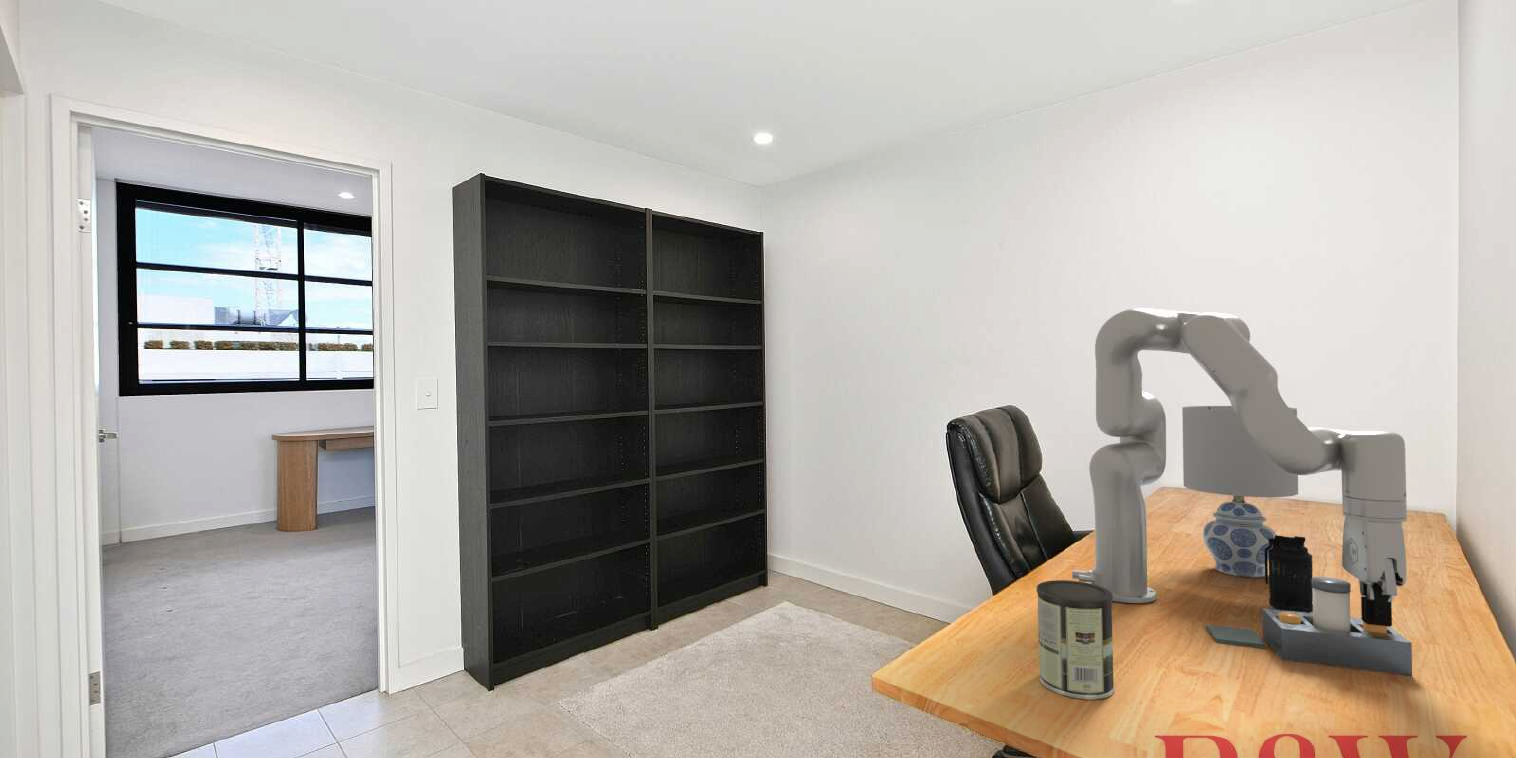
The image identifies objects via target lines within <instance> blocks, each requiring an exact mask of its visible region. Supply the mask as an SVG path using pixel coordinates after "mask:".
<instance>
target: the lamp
mask: <svg viewBox="0 0 1516 758" xmlns="http://www.w3.org/2000/svg"><path fill="white" fill-rule="evenodd" d="M1289 409H1290V410H1291V411H1292V412H1293V413H1294V414H1295V416H1296V417H1297V418H1298V408H1296V407H1289ZM1181 410H1182V462H1183V463H1182V464H1183V465H1182V468H1183V469H1182V470H1183V472H1182V473H1183V476H1182V477H1183V487H1185V488H1187V489H1189V490H1193V491H1198V492H1201V493H1206V494H1207V493H1208V494H1216V495H1223V496H1232V497H1233V498H1232V500H1231V501H1226V502H1223V503H1221V504H1220V505H1219V506H1218V507H1217V510H1216V511H1215V512H1213V513H1212V515H1211V516H1212V517H1214V518H1215V519H1214V520H1211V521H1209V522H1208V523H1206V524H1205V526H1204V528H1203V530H1202V540H1203V542H1204V545H1205V546H1206V549H1207V550H1208V552H1209V553H1210V555H1211V556H1212V558H1213V559H1214V561H1215V562H1214V563H1215V565H1214V569H1215V570H1216V571H1218V572H1219V573H1222V574H1226V575H1228V576H1234V577H1240V578H1241V577H1242V578H1263V577H1265V552H1264V549H1265V548H1267V547H1268V546H1269V542H1268V539H1269V538H1275V535H1277V533H1276V532H1275V531H1274V530H1273V529H1272V528H1271V527H1270V526H1267V525H1266V524H1264V523H1265V522H1267V521H1268V519H1267V517H1265V516H1263V514H1262V512H1261V511H1260V509H1259V508H1258V507H1257V506H1256V505H1254V504H1252V503H1249V502H1246V500H1245V497H1249V498H1250V497H1251V498H1286V497H1294V496H1297V495H1299V475H1295V474H1292V473H1289V472H1287V471H1284V470H1283V469H1281V468H1280V467H1278V466H1277V465H1276V464H1275V463H1273V462H1272V461H1271V460H1270V459H1269V458H1268V456H1267V455H1266V454H1265V453H1264V452H1263V451H1262V450H1261V449H1260V448H1259V446H1258V445H1257V444H1256V443H1255V442H1254V441H1253V440H1252V438H1251V437H1250V436H1249V435H1248V433H1247V432H1246V431H1245V429H1244V428H1243V426H1242V425H1241V423H1240V421H1239V419H1238V417H1237V415H1236V413H1235V411H1234V410H1233V408H1232V405H1193V406H1192V405H1191V406H1182V408H1181ZM1272 547H1273V545H1272ZM1271 549H1272V548H1271ZM1269 550H1270V549H1269ZM1269 550H1268V551H1267V554H1268V563H1269Z"/></svg>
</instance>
